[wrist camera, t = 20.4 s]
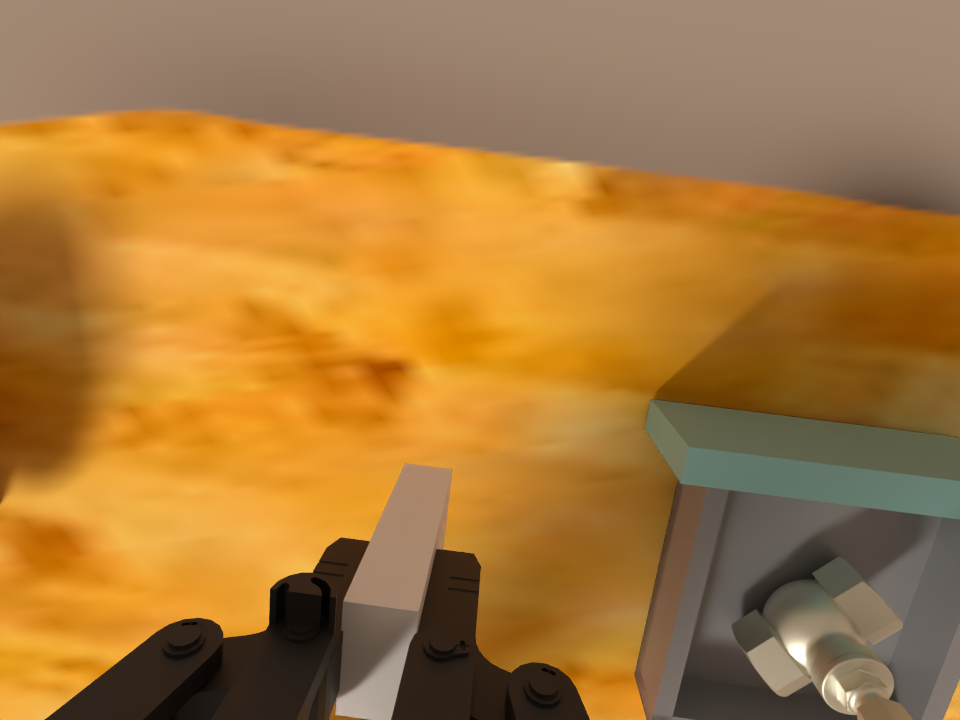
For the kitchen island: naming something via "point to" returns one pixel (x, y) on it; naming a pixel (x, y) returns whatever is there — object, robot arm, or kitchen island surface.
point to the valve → (825, 642)
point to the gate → (808, 458)
